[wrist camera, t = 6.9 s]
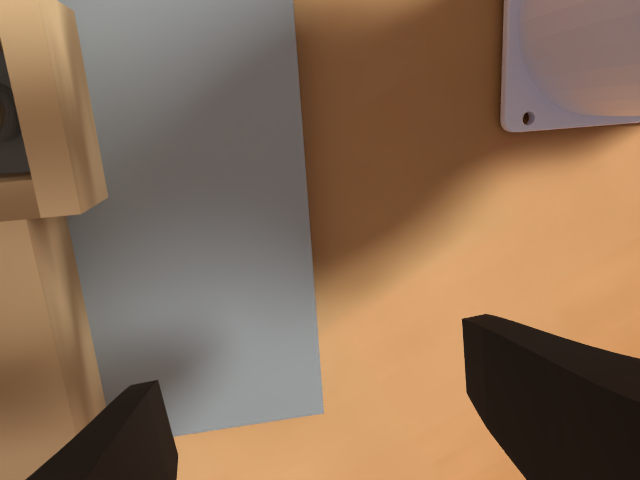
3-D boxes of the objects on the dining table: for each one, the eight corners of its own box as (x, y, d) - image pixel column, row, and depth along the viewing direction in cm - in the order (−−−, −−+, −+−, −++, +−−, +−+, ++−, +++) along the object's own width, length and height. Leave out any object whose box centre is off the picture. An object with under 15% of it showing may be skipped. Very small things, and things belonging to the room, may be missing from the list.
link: (-137, 19, 15) (-230, -5, 12) (74, 11, 15) (35, -14, 12) (-13, 443, 18) (-60, 504, 16) (149, 419, 19) (133, 473, 16)
